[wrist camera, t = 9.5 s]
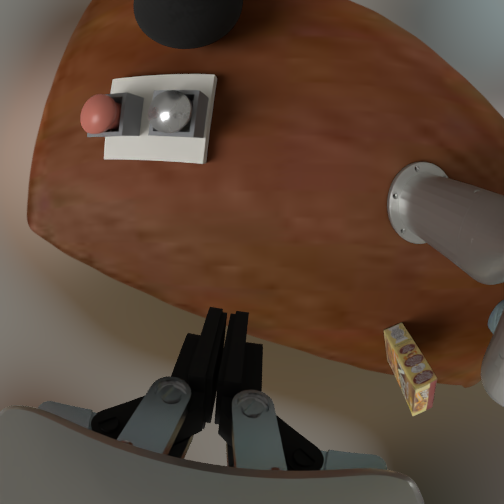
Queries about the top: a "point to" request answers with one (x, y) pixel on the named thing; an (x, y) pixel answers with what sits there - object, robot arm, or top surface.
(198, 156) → the button panel
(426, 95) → the top surface
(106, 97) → the red plunger
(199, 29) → the decorative egg
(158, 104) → the steel plunger
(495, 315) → the blue cup
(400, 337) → the candy box
